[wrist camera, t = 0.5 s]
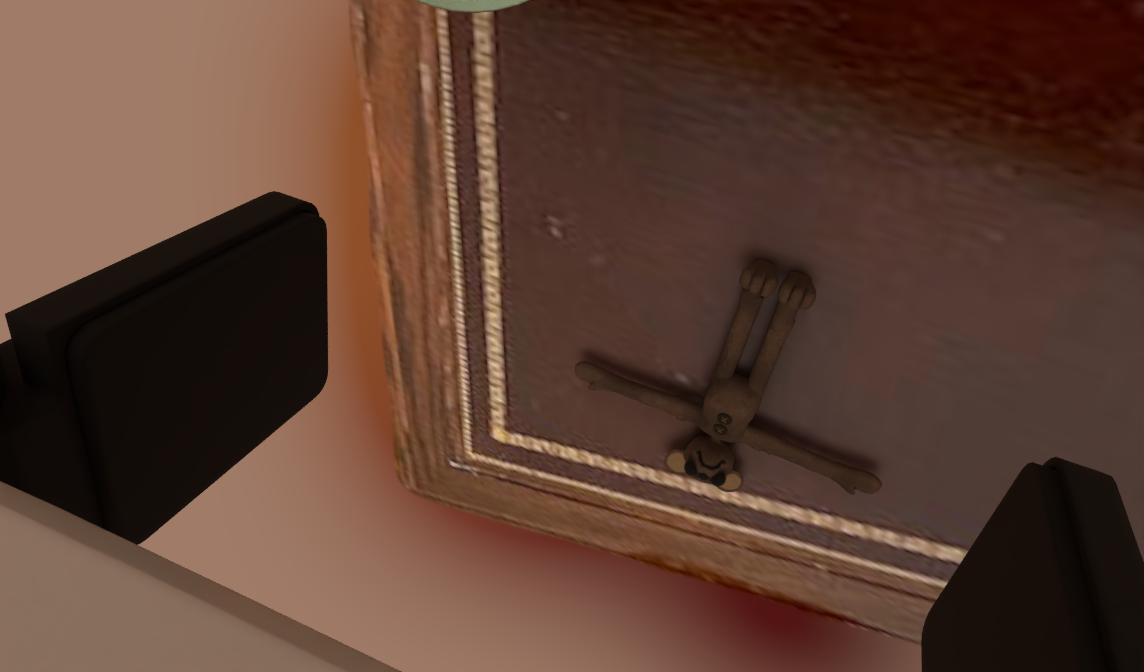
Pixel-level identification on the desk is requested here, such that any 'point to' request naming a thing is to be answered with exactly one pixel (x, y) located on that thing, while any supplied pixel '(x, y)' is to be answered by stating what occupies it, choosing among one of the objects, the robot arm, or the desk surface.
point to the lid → (473, 5)
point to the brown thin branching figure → (738, 393)
